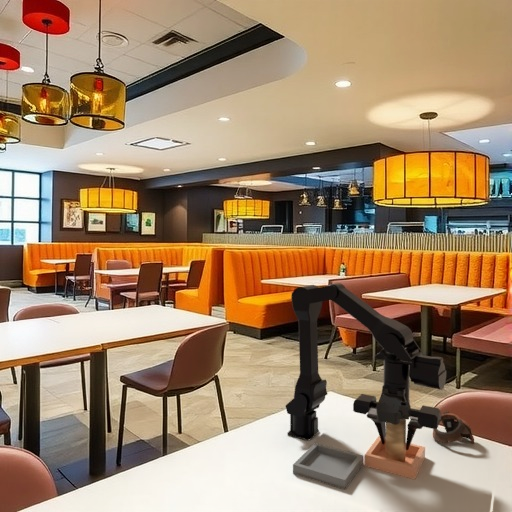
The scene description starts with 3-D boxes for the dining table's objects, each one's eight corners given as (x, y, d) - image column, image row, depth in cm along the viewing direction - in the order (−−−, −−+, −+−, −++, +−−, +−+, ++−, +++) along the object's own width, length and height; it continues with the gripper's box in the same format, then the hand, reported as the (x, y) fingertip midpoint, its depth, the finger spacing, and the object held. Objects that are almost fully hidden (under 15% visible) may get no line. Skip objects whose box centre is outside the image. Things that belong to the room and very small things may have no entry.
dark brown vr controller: (483, 453, 109) (471, 428, 107) (446, 466, 110) (434, 442, 108) (464, 421, 120) (453, 397, 118) (431, 433, 122) (420, 410, 120)
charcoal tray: (293, 475, 98) (293, 464, 98) (315, 452, 108) (315, 442, 108) (344, 491, 92) (345, 480, 91) (363, 466, 102) (363, 455, 102)
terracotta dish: (364, 467, 101) (364, 454, 101) (378, 447, 110) (378, 436, 110) (414, 481, 95) (415, 467, 95) (424, 459, 105) (425, 446, 105)
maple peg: (383, 462, 102) (383, 420, 102) (388, 454, 106) (388, 413, 105) (402, 468, 100) (403, 424, 99) (407, 459, 104) (407, 417, 103)
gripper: (345, 383, 100) (344, 450, 101) (433, 399, 90) (431, 473, 91) (361, 370, 109) (360, 432, 110) (441, 383, 100) (440, 451, 101)
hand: (395, 446), depth 103 cm, fingers open, 5 cm apart
